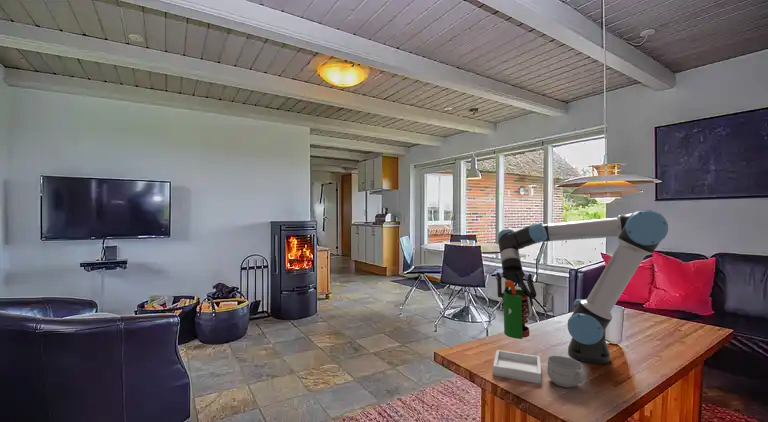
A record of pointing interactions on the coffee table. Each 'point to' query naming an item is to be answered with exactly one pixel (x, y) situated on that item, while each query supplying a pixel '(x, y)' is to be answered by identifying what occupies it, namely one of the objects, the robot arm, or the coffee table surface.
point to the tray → (517, 366)
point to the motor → (515, 312)
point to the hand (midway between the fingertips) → (520, 314)
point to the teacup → (565, 371)
